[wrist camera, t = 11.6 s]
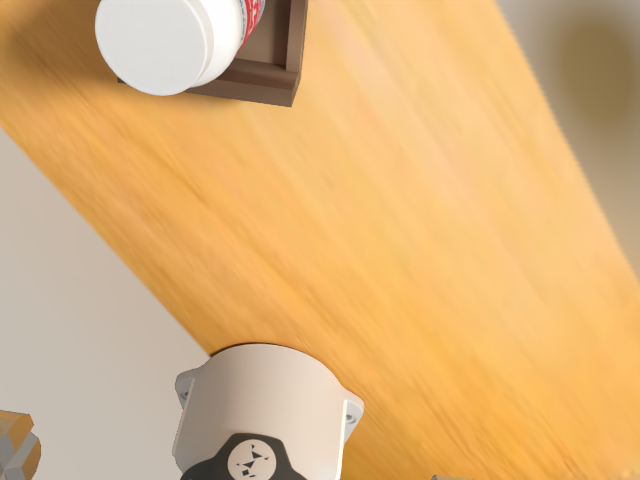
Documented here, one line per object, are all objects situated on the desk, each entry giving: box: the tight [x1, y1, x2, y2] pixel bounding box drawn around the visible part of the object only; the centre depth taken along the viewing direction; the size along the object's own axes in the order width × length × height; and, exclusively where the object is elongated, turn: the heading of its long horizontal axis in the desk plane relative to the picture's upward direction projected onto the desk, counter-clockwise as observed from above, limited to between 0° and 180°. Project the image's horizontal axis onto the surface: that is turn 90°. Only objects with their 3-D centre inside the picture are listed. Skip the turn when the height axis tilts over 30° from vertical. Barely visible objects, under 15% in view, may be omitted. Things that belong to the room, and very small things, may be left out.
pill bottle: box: [95, 0, 265, 96], centre depth 26 cm, size 6×6×11 cm
